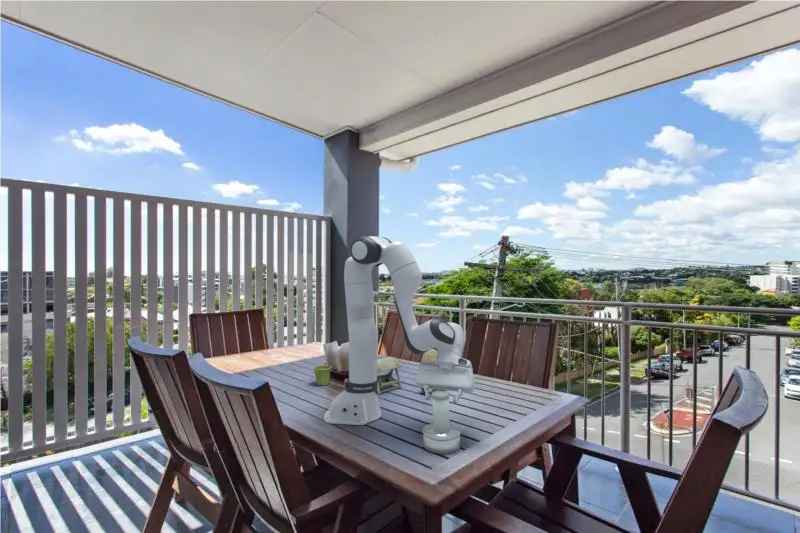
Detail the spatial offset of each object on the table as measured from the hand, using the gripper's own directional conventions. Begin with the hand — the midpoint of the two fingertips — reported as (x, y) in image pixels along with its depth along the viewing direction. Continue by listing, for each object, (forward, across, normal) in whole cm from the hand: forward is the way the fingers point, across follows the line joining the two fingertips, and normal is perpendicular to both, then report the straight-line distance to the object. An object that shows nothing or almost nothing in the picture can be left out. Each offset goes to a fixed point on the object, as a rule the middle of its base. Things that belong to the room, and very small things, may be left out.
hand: (441, 400), depth 123 cm
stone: (-27, -17, +47) cm, 57 cm away
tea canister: (+7, 0, +6) cm, 9 cm away
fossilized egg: (-45, -25, +65) cm, 83 cm away
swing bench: (-24, -41, +44) cm, 65 cm away
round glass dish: (+11, 0, +10) cm, 14 cm away
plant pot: (-22, -74, +43) cm, 89 cm away
